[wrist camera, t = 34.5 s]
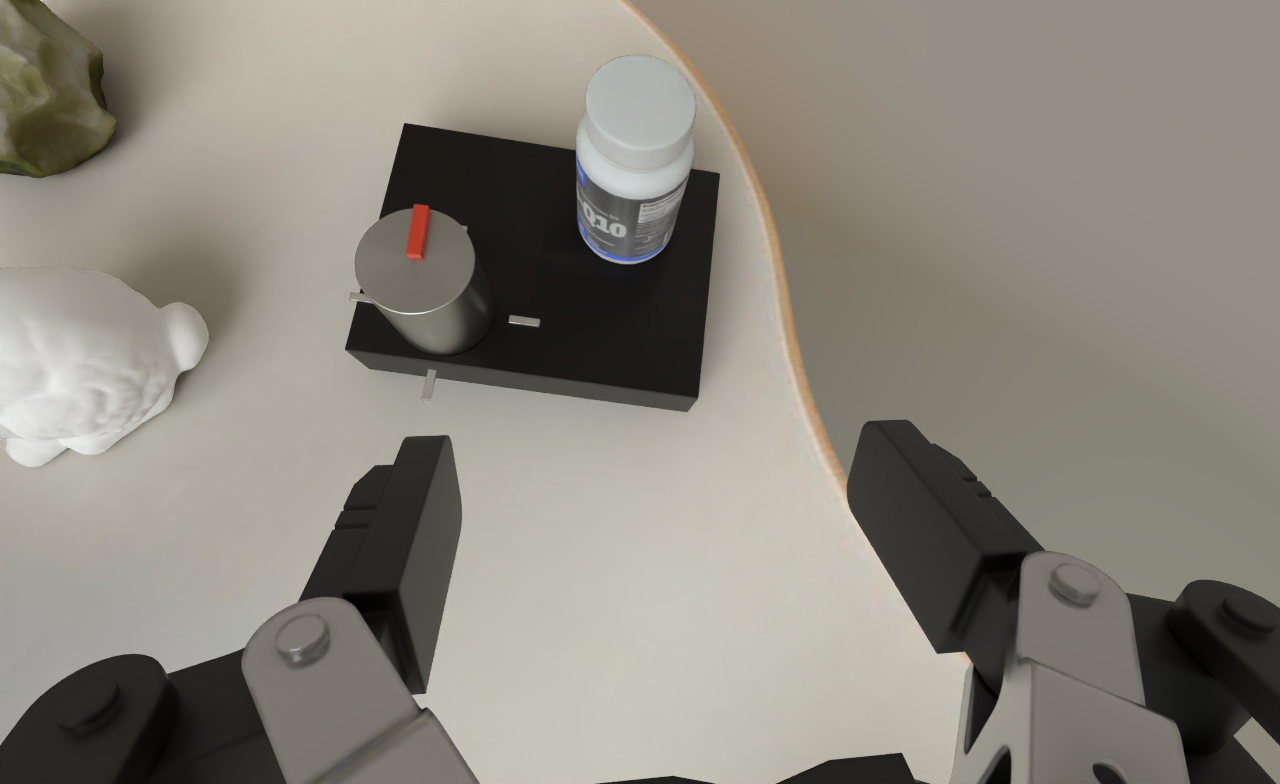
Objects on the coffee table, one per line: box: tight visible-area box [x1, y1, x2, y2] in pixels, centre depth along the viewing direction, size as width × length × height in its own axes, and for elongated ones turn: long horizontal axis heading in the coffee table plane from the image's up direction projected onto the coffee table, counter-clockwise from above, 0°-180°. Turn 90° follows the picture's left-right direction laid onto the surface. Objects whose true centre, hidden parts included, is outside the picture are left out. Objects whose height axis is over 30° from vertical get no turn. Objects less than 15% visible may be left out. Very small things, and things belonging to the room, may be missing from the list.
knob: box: [355, 204, 495, 356], centre depth 24 cm, size 4×4×5 cm
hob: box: [345, 123, 720, 412], centre depth 29 cm, size 16×14×3 cm
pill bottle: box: [576, 55, 696, 264], centre depth 25 cm, size 5×5×8 cm
